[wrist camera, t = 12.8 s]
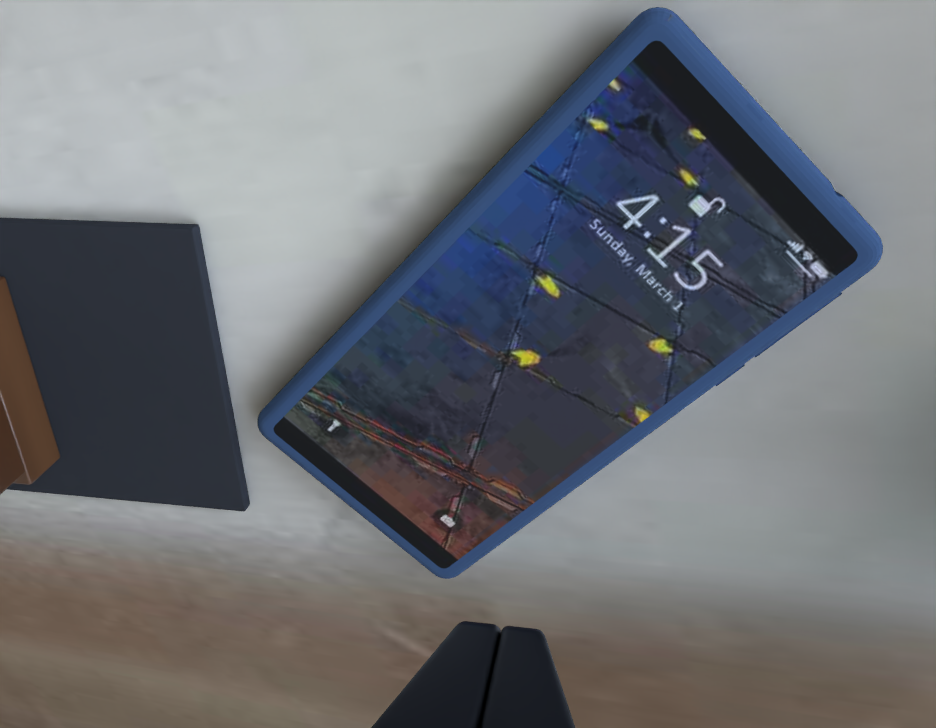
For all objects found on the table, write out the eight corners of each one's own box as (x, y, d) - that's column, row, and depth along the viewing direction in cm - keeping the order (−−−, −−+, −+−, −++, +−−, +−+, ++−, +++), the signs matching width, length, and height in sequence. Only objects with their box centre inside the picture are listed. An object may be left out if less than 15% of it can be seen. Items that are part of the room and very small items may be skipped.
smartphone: (245, 428, 23) (658, -5, 16) (257, 413, 23) (657, -8, 17) (446, 590, 24) (899, 258, 18) (451, 572, 25) (889, 245, 18)
